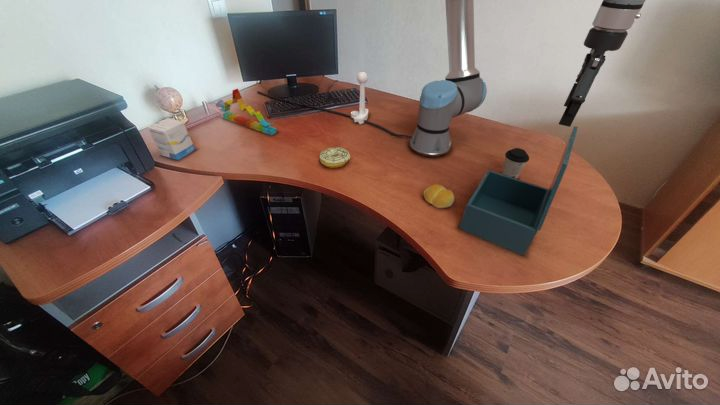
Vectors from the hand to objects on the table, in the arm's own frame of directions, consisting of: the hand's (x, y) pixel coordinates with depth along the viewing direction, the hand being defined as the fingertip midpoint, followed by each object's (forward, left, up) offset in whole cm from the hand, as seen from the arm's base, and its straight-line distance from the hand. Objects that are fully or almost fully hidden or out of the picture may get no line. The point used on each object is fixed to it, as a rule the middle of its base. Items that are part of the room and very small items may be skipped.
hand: (566, 115), depth 82 cm
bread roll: (-23, -27, -23) cm, 42 cm away
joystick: (-75, +6, -23) cm, 78 cm away
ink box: (-115, -56, -23) cm, 130 cm away
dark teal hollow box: (-5, -26, -22) cm, 35 cm away
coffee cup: (-8, -4, -23) cm, 24 cm away
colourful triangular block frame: (-111, -26, -23) cm, 116 cm away
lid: (+3, -26, -4) cm, 27 cm away
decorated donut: (-62, -28, -23) cm, 71 cm away
